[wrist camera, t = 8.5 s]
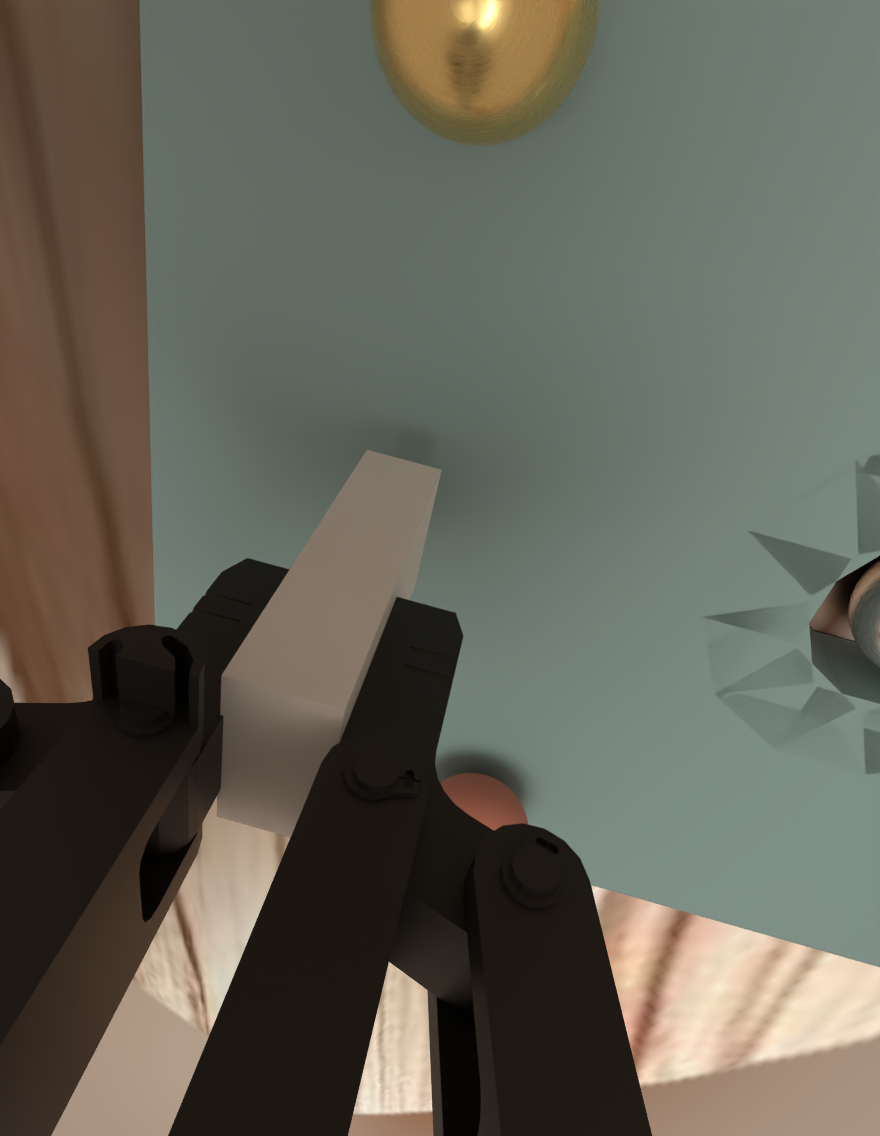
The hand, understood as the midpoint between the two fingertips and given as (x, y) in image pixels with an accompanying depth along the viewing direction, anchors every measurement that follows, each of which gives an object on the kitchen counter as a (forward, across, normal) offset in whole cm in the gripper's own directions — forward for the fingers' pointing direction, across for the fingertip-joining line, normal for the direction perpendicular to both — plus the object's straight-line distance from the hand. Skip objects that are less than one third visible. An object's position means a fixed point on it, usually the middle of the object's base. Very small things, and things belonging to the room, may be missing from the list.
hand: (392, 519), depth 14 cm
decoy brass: (0, 0, +8) cm, 8 cm away
